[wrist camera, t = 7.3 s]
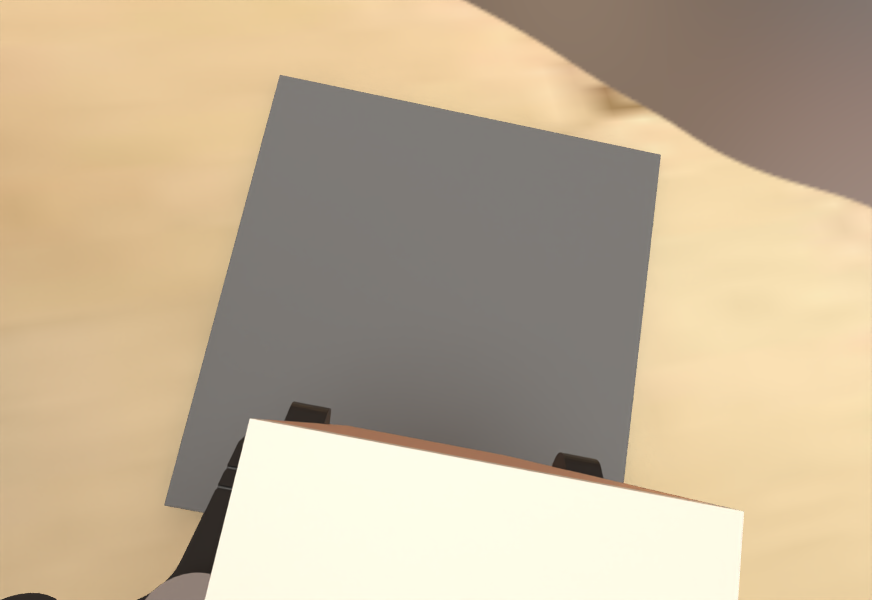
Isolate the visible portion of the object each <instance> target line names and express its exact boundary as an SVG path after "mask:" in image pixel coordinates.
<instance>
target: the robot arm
mask: <svg viewBox="0 0 872 600" xmlns="http://www.w3.org/2000/svg"><path fill="white" fill-rule="evenodd" d="M330 417H331V408H327V407H321V406H316V405H311V404H305V403H300V402H295V401H294V402H292V404H291V406H290V408H289V410H288V413H287V415H286V418H285V420H284V421H292V422H306V423H320V424H329V425H330ZM245 436H246V435H245ZM245 436H244V437H243V438H242V439H241V440H240V441H239V442H238V444H237V446H236V448H235V450H234V452H233V454H232V456H231V458H230V460H229V462H228V464H227V468H226V470H225V471H224V473H223V475H222V477H221V479H220V481H219V483H218V487H217V489H215V491H214V493H213V495H212V498H211V500H210V502H209V504H208V506H207V508H206V510H205V512H204V514H203V516H202V518H201V520H200V522H199V524H198V527H197V529H196V531H195V533H194V535H193V537H192V539H191V541H190V543H189V545H188V547H187V549H186V551H185V553H184V556H183V558H182V560H181V562H180V563H179V565H178V567H177V569H176V570H175V571H174V573H173V574H172V575H171V576H170V577H169V578H168V579H167V580H166V581H165V582H164V583H163V584H161V585H160V586H158V587H157V588H156V589H155V590H154V591H152V592H151V593H150V594H148V595H146V596H144V597H142V598H140V599H138V600H205V597H206V593H207V589H208V585H209V581H210V577H211V573H212V569H213V565H214V561H215V557H216V553H217V549H218V545H219V540H220V536H221V532H222V528H223V524H224V520H225V516H226V512H227V508H228V504H229V500H230V496H231V492H232V488H233V484H234V480H235V476H236V472H237V468H238V464H239V460H240V456H241V452H242V448H243V444H244V440H245ZM552 467H556V468H560V469H564V470H569V471H574V472H578V473H582V474H586V475H591V476H595V477H599V478H603V474H602V469H601V465H600V463H599V461H598V460H597V459H593V458H588V457H583V456H577V455H572V454H567V453H562V452H559V453H558V454H557V455H556V457H555V459H554V462H553V464H552ZM2 600H56V599H55V598H53V597H51V596H48V595H45V594H40V593H25V594H18V595H14V596H10V597H7V598H4V599H2Z"/></svg>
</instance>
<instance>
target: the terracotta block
mask: <svg viewBox="0 0 872 600" xmlns="http://www.w3.org/2000/svg"><path fill="white" fill-rule="evenodd" d="M743 518H744V511H740V510H736V509H731V508H727V507H723V506H719V505H714V504H710V503H706V502H701V501H697V500H693V499H689V498H684V497H680V496H676V495H672V494H667V493H663V492H659V491H655V490H650V489H646V488H642V487H637V486H633V485H629V484H625V483H620V482H616V481H612V480H608V479H603V478H599V477H595V476H591V475H586V474H582V473H578V472H574V471H569V470H564V469H560V468H556V467H552V466H548V465H544V464H539V463H535V462H531V461H527V460H522V459H518V458H514V457H510V456H505V455H501V454H495V453H490V452H485V451H479V450H474V449H469V448H463V447H458V446H453V445H448V444H442V443H437V442H432V441H426V440H421V439H416V438H411V437H405V436H400V435H395V434H389V433H384V432H379V431H374V430H368V429H363V428H358V427H352V426H347V425H333V424H330V425H329V424H320V423H306V422H292V421H279V420H265V419H252V418H250V420H249V424H248V428H247V432H246V436H245V440H244V444H243V448H242V452H241V456H240V460H239V464H238V468H237V472H236V476H235V480H234V484H233V488H232V492H231V496H230V500H229V504H228V508H227V512H226V516H225V520H224V524H223V528H222V532H221V536H220V540H219V545H218V549H217V553H216V557H215V561H214V565H213V569H212V573H211V577H210V581H209V585H208V589H207V593H206V597H205V600H738V592H739V577H740V562H741V547H742V533H743Z"/></svg>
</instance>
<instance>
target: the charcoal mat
mask: <svg viewBox="0 0 872 600" xmlns="http://www.w3.org/2000/svg"><path fill="white" fill-rule="evenodd" d="M660 157H661V155H659V154H654V153H650V152H645V151H640V150H635V149H630V148H626V147H621V146H616V145H611V144H607V143H602V142H597V141H592V140H588V139H583V138H578V137H573V136H569V135H564V134H559V133H554V132H549V131H545V130H540V129H535V128H530V127H526V126H521V125H516V124H511V123H507V122H502V121H497V120H492V119H488V118H483V117H478V116H473V115H469V114H464V113H459V112H454V111H449V110H445V109H440V108H435V107H430V106H426V105H421V104H416V103H411V102H407V101H402V100H397V99H392V98H388V97H383V96H378V95H373V94H368V93H364V92H359V91H354V90H349V89H345V88H340V87H335V86H330V85H326V84H321V83H316V82H311V81H307V80H302V79H297V78H292V77H288V76H283V75H280V77H279V81H278V84H277V88H276V92H275V95H274V99H273V103H272V107H271V110H270V114H269V118H268V122H267V125H266V129H265V133H264V136H263V140H262V144H261V148H260V151H259V155H258V159H257V162H256V166H255V170H254V174H253V177H252V181H251V185H250V188H249V192H248V196H247V200H246V203H245V207H244V211H243V214H242V218H241V222H240V226H239V229H238V233H237V237H236V241H235V244H234V248H233V252H232V255H231V259H230V263H229V267H228V270H227V274H226V278H225V281H224V285H223V289H222V293H221V296H220V300H219V304H218V307H217V311H216V315H215V319H214V322H213V326H212V330H211V334H210V337H209V341H208V345H207V348H206V352H205V356H204V360H203V363H202V367H201V371H200V374H199V378H198V382H197V386H196V389H195V393H194V397H193V400H192V404H191V408H190V412H189V415H188V419H187V423H186V426H185V430H184V434H183V438H182V441H181V445H180V449H179V453H178V456H177V460H176V464H175V467H174V471H173V475H172V479H171V482H170V486H169V490H168V493H167V497H166V501H165V506H170V507H176V508H181V509H187V510H192V511H198V512H203V513H204V512H205V510H206V508H207V506H208V504H209V502H210V500H211V498H212V495H213V493H214V491H215V489H217V487H218V483H219V481H220V479H221V477H222V475H223V473H224V471H225V470H226V468H227V464H228V462H229V460H230V458H231V456H232V454H233V452H234V450H235V448H236V446H237V444H238V442H239V441H240V440H241V439H242V438H243V437H244V436H245V435H246V432H247V428H248V424H249V420H250V418H252V419H265V420H279V421H284V420H285V418H286V415H287V413H288V410H289V408H290V406H291V404H292V402H294V401H295V402H300V403H305V404H311V405H316V406H321V407H327V408H331V417H330V424H333V425H347V426H352V427H358V428H363V429H368V430H374V431H379V432H384V433H389V434H395V435H400V436H405V437H411V438H416V439H421V440H426V441H432V442H437V443H442V444H448V445H453V446H458V447H463V448H469V449H474V450H479V451H485V452H490V453H495V454H501V455H505V456H510V457H514V458H518V459H522V460H527V461H531V462H535V463H539V464H544V465H548V466H552V464H553V462H554V459H555V457H556V455H557V454H558V453H559V452H562V453H567V454H572V455H577V456H583V457H588V458H593V459H597V460H598V461H599V463H600V465H601V469H602V474H603V479H608V480H612V481H616V482H620V483H624V474H625V465H626V456H627V448H628V439H629V430H630V421H631V412H632V404H633V395H634V386H635V377H636V368H637V359H638V351H639V342H640V333H641V324H642V315H643V307H644V298H645V289H646V280H647V271H648V262H649V254H650V245H651V236H652V227H653V218H654V210H655V201H656V192H657V183H658V174H659V165H660Z"/></svg>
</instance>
